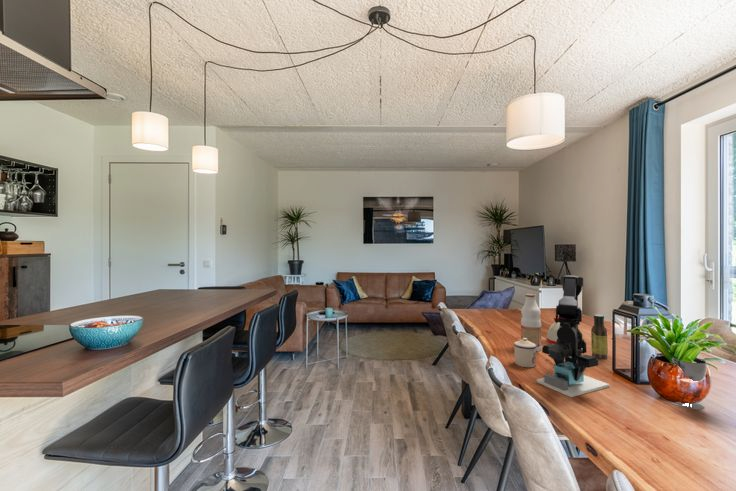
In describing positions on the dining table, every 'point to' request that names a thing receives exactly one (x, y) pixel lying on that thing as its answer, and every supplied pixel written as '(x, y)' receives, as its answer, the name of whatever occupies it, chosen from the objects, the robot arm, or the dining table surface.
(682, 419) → the dining table surface
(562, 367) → the slotted lock block
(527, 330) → the fruit juice
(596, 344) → the sauce bottle
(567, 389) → the rail base plate
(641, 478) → the dining table surface
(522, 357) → the teacup with lid
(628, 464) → the dining table surface
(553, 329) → the kitchen timer
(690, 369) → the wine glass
